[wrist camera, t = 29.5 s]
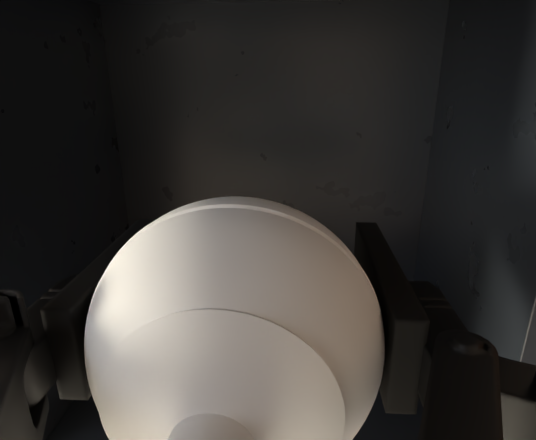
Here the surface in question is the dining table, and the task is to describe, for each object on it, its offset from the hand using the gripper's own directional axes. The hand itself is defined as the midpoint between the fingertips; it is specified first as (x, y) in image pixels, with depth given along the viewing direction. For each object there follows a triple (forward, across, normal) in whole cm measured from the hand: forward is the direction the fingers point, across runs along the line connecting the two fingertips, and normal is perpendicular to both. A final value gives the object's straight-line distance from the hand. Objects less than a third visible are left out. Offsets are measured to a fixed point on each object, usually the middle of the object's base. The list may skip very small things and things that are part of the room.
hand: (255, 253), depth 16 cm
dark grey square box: (+12, 0, +1) cm, 12 cm away
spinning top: (+2, 0, 0) cm, 2 cm away
